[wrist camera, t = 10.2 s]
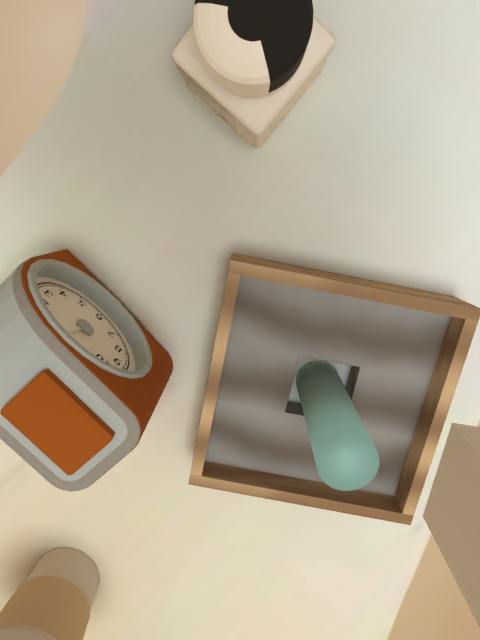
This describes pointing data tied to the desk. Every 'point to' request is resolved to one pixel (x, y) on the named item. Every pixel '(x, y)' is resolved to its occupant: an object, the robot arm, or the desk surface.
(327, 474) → the peg
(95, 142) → the desk surface
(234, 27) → the container
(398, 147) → the desk surface
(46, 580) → the coffee cup
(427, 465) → the socket box
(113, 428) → the alarm clock
